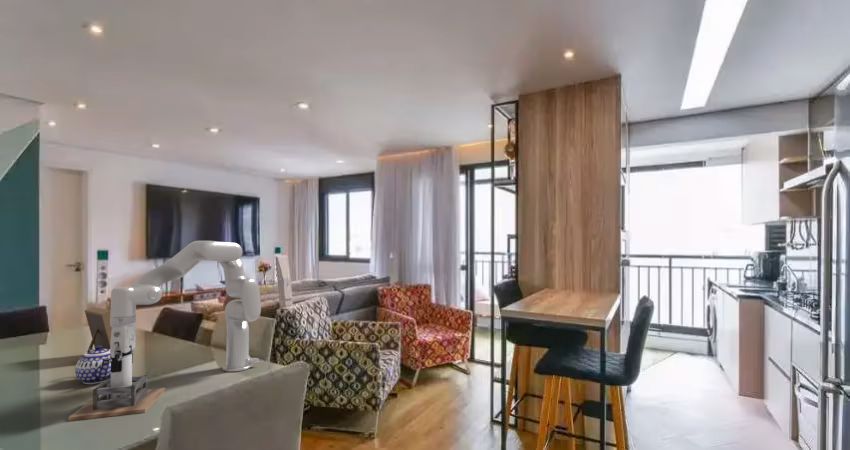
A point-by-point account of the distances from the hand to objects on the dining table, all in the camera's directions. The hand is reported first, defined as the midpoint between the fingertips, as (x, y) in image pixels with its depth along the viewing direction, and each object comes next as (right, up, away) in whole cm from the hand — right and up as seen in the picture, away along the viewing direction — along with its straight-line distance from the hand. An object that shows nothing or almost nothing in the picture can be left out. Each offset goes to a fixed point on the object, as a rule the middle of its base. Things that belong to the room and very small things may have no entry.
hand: (122, 367), depth 149 cm
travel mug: (0, -12, -1) cm, 12 cm away
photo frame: (-56, -16, +59) cm, 83 cm away
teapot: (-30, -15, +26) cm, 42 cm away
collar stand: (0, -13, -1) cm, 13 cm away
